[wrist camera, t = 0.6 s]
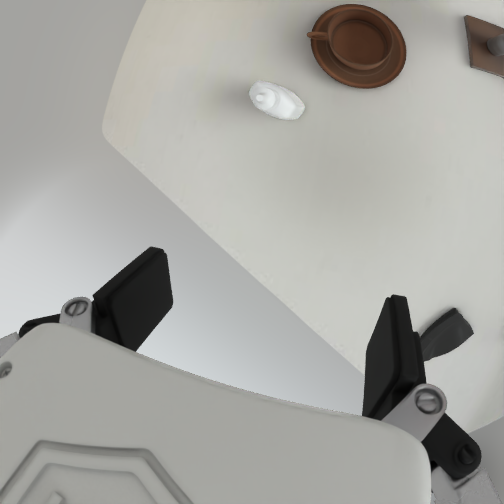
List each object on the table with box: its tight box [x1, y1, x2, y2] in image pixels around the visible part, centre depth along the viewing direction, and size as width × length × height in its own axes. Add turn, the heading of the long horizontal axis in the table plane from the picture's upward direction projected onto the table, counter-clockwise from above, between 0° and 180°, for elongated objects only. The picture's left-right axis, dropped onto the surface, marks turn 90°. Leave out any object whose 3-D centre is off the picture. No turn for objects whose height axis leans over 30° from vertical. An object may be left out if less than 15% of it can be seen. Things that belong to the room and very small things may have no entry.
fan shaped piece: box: [420, 308, 474, 361], centre depth 43 cm, size 8×14×2 cm, turn 142°
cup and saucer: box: [307, 4, 406, 89], centre depth 26 cm, size 12×12×6 cm
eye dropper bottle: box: [249, 81, 305, 120], centre depth 30 cm, size 4×6×12 cm
